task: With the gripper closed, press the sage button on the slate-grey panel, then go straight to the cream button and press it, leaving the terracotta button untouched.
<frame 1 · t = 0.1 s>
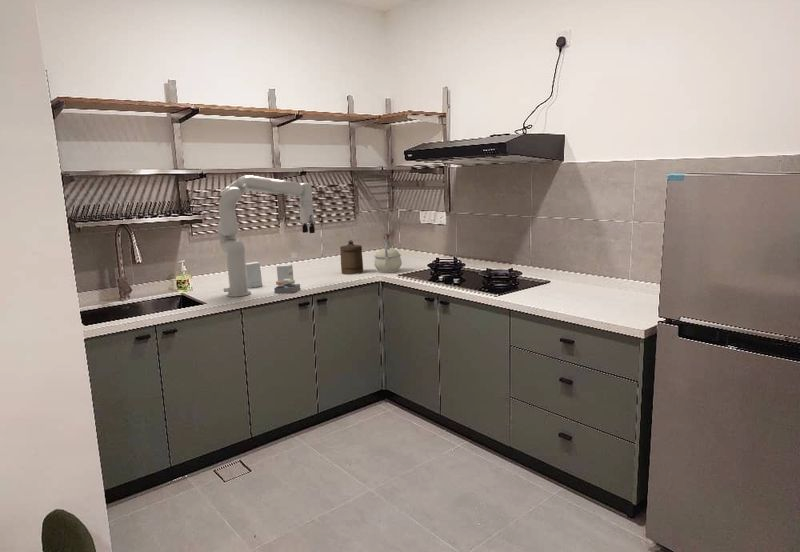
hand: (308, 232, 314), 31 cm above the worktop, tool pointing down, fingers open, 9 cm apart
cream button: (287, 280, 301), point 6 cm above the worktop, slide at 0.0 cm
skincare box: (254, 287, 319), on the worktop
sage button: (291, 281, 295), point 6 cm above the worktop, slide at 0.0 cm
supplement box: (286, 286, 317), on the worktop
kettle: (388, 272, 352), on the worktop
wooden container: (352, 272, 356), on the worktop
terracotta button: (279, 282, 294), point 6 cm above the worktop, slide at 0.0 cm
button panel: (287, 291, 298), on the worktop
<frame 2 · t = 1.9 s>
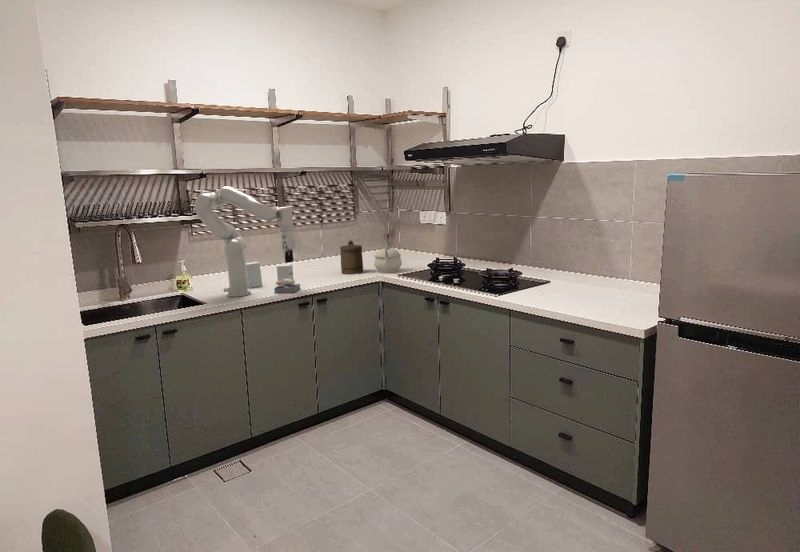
hand: (289, 261, 293), 17 cm above the worktop, tool pointing down, fingers open, 3 cm apart
nothing on the worktop moved.
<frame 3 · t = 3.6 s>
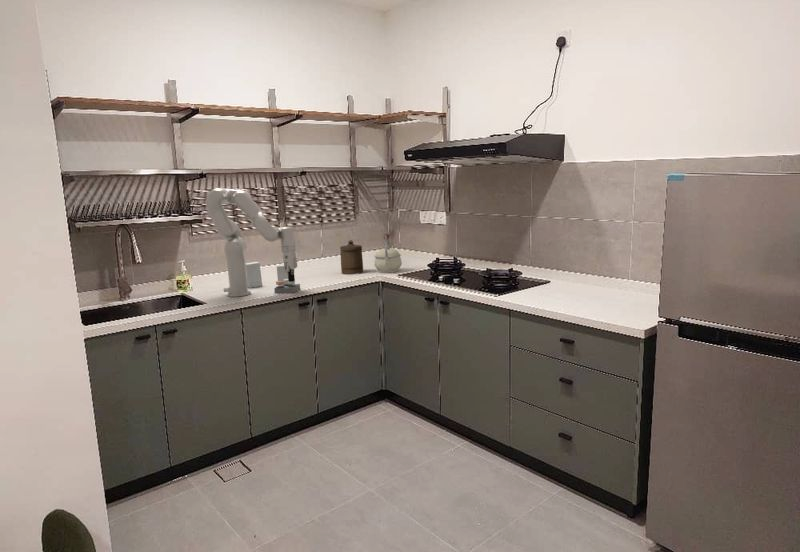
hand: (291, 281, 295), 6 cm above the worktop, tool pointing down, fingers closed
sage button: (291, 282, 295), point 5 cm above the worktop, slide at 0.5 cm, touching gripper
everything else where it was.
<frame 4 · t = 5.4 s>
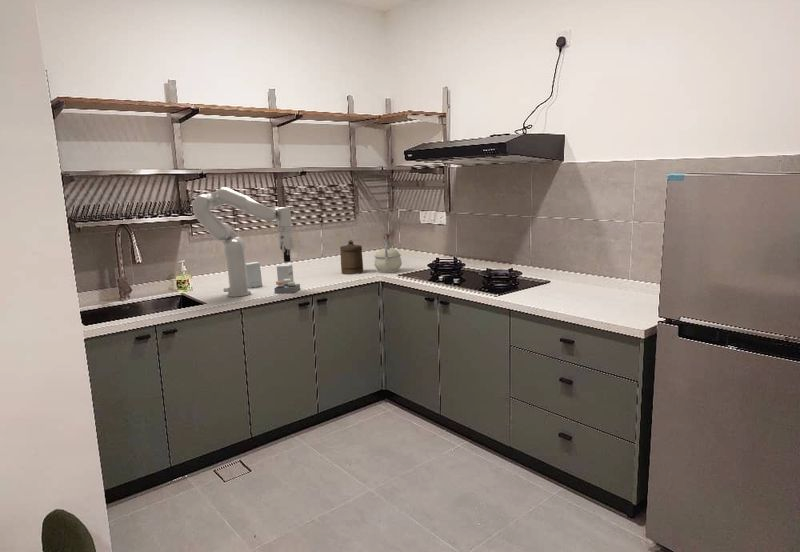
hand: (287, 261, 296), 17 cm above the worktop, tool pointing down, fingers closed
sage button: (291, 283, 295), point 4 cm above the worktop, slide at 1.2 cm
everything else where it was.
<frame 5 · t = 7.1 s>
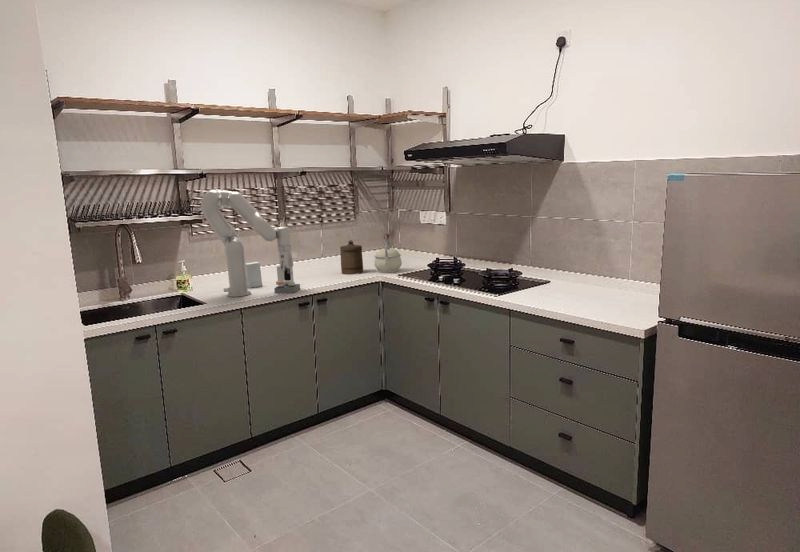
hand: (287, 280, 301), 6 cm above the worktop, tool pointing down, fingers closed
cream button: (287, 281, 301), point 5 cm above the worktop, slide at 0.6 cm, touching gripper
everything else where it was.
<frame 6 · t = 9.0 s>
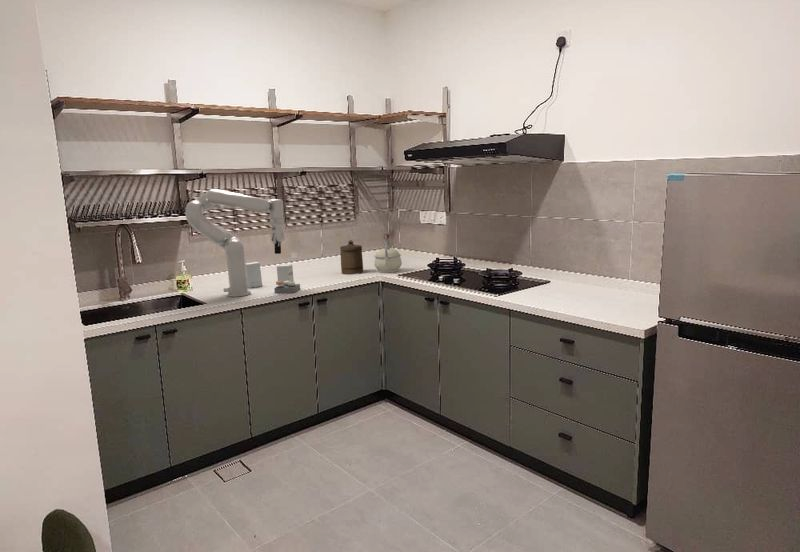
hand: (277, 253, 298), 21 cm above the worktop, tool pointing down, fingers closed
cream button: (287, 282, 301), point 4 cm above the worktop, slide at 1.2 cm
everything else where it was.
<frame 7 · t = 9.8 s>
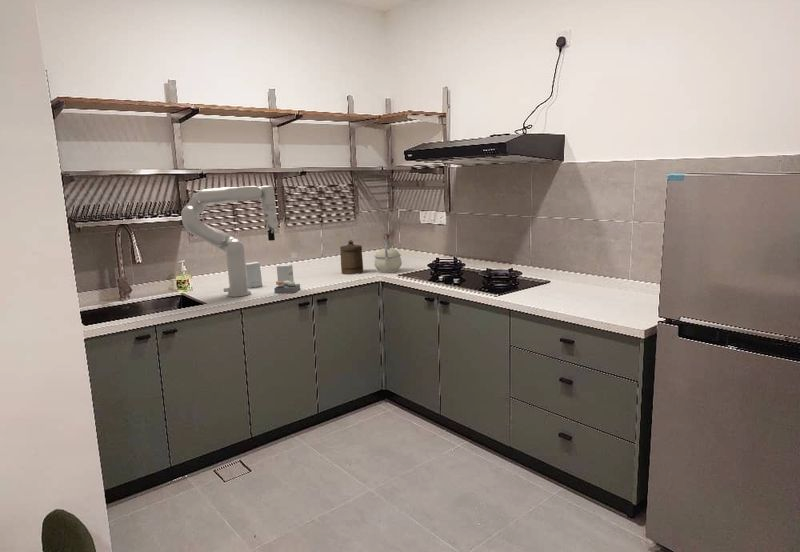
hand: (271, 240, 298), 29 cm above the worktop, tool pointing down, fingers closed
nothing on the worktop moved.
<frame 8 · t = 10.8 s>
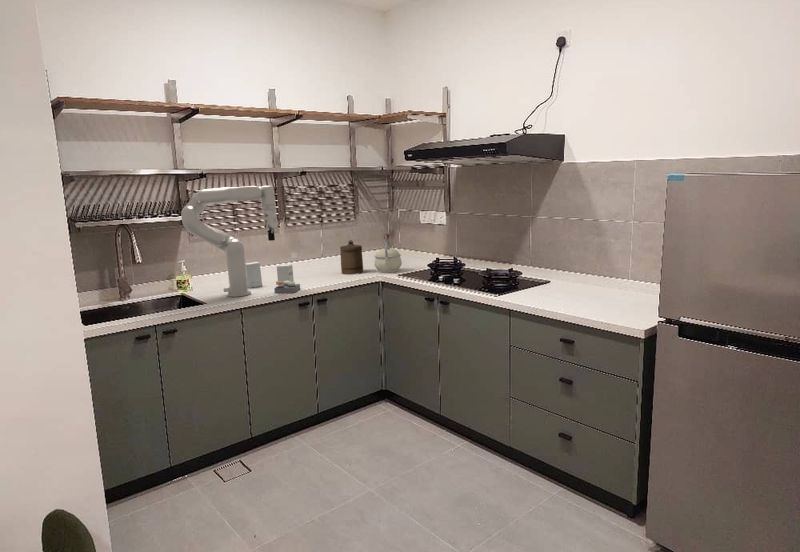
hand: (271, 240, 298), 29 cm above the worktop, tool pointing down, fingers closed
nothing on the worktop moved.
at the end: sage button slide at 1.2 cm; cream button slide at 1.2 cm; terracotta button slide at 0.0 cm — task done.
